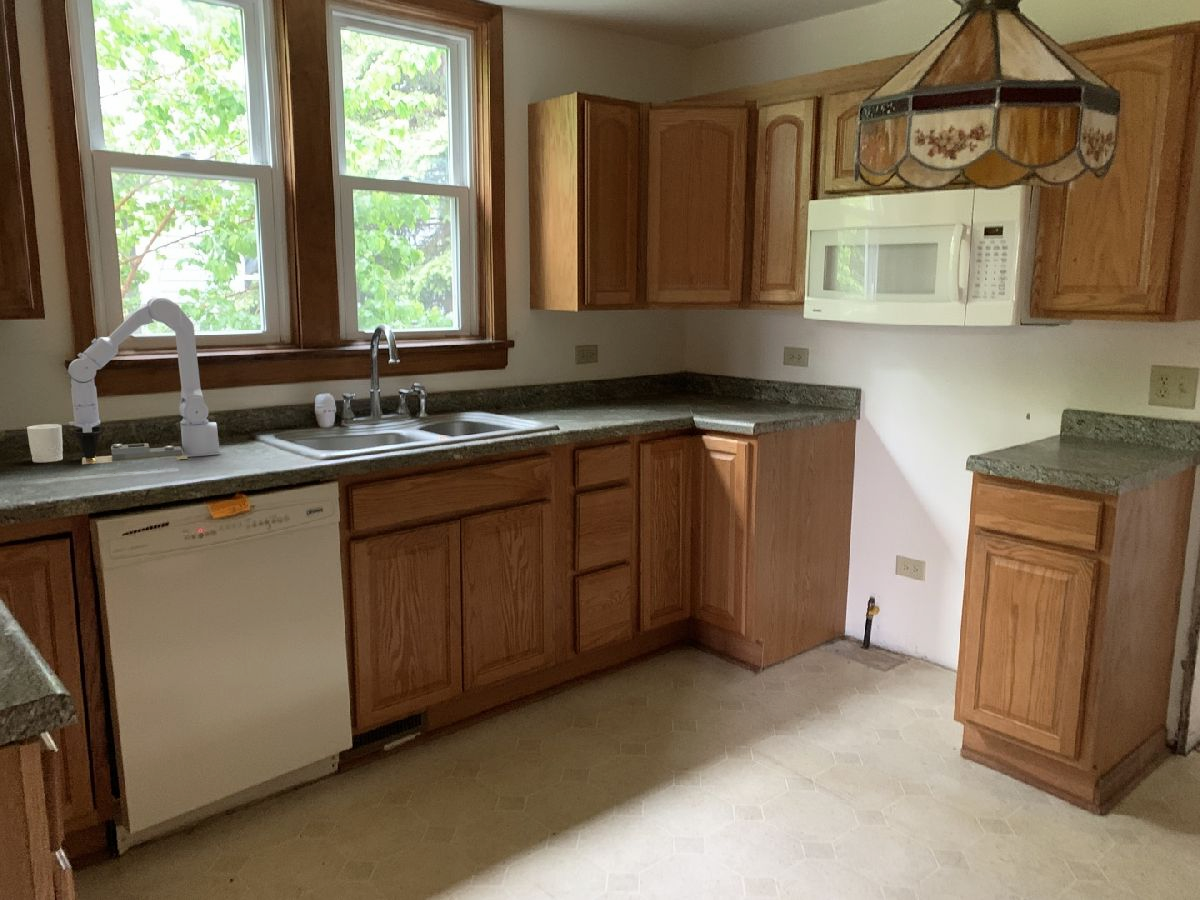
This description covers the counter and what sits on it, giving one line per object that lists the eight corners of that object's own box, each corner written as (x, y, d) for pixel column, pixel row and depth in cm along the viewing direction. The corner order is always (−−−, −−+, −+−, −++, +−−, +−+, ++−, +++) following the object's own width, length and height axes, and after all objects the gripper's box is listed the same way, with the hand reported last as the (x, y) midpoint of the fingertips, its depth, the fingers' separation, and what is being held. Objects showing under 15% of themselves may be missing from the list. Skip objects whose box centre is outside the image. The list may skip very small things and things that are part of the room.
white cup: (27, 463, 241) (23, 426, 239) (60, 459, 246) (56, 423, 244) (35, 467, 235) (31, 429, 233) (69, 463, 240) (65, 426, 239)
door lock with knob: (184, 453, 255) (183, 437, 254) (187, 459, 247) (186, 442, 246) (82, 461, 243) (81, 444, 243) (82, 468, 235) (80, 450, 234)
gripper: (68, 402, 242) (73, 452, 244) (66, 409, 229) (72, 461, 232) (98, 401, 245) (103, 450, 247) (98, 407, 232) (103, 459, 235)
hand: (90, 455), depth 240 cm, fingers open, 7 cm apart
